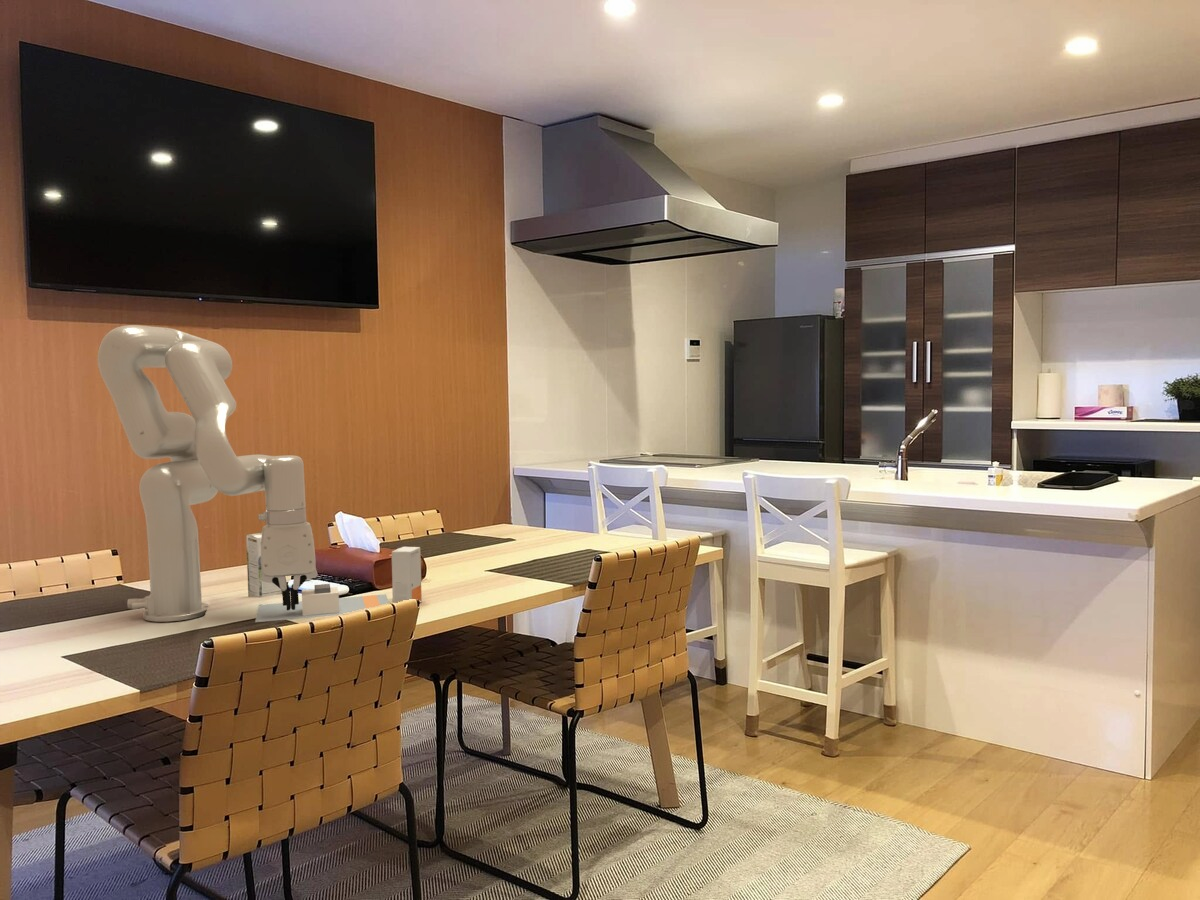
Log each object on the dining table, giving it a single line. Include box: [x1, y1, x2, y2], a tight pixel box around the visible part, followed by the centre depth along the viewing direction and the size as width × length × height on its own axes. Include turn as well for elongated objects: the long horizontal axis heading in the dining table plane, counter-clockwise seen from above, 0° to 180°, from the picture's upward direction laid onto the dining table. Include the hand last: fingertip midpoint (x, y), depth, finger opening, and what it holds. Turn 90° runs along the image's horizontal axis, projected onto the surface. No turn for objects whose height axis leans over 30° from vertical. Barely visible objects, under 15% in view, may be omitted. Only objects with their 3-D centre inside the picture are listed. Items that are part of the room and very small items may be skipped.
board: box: [254, 593, 390, 623], centre depth 190 cm, size 26×15×1 cm, turn 108°
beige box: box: [301, 583, 340, 616], centre depth 187 cm, size 7×6×5 cm
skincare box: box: [391, 546, 423, 603], centre depth 196 cm, size 6×4×12 cm
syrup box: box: [245, 532, 282, 598], centre depth 204 cm, size 6×6×14 cm
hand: (291, 608), depth 185 cm, fingers closed
